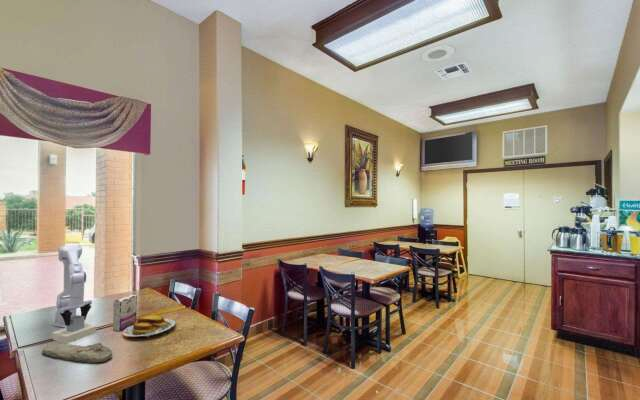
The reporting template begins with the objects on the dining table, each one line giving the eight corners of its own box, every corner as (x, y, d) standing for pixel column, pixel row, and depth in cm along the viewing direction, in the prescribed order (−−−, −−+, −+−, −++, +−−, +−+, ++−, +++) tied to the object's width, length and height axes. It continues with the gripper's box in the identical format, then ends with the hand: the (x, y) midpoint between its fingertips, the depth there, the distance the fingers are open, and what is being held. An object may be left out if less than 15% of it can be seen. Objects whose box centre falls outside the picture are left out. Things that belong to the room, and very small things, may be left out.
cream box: (52, 340, 148) (52, 332, 149) (83, 329, 161) (83, 322, 162) (65, 344, 144) (65, 336, 144) (96, 333, 157) (96, 326, 157)
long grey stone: (57, 349, 142) (34, 360, 132) (57, 338, 142) (33, 349, 132) (119, 354, 135) (99, 367, 126) (119, 342, 135) (99, 354, 125)
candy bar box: (129, 322, 171) (130, 294, 172) (136, 323, 170) (137, 295, 171) (111, 330, 160) (113, 300, 161) (119, 331, 159) (121, 300, 160)
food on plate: (122, 346, 144) (122, 332, 144) (121, 328, 165) (121, 316, 165) (179, 334, 159) (179, 322, 159) (172, 319, 179) (172, 308, 179)
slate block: (66, 330, 151) (67, 318, 151) (76, 326, 156) (77, 315, 156) (73, 331, 150) (74, 320, 150) (84, 328, 155) (84, 316, 155)
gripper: (66, 301, 145) (65, 329, 145) (96, 293, 159) (95, 318, 159) (56, 299, 147) (55, 327, 147) (86, 291, 161) (85, 316, 161)
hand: (75, 322), depth 153 cm, fingers open, 7 cm apart
